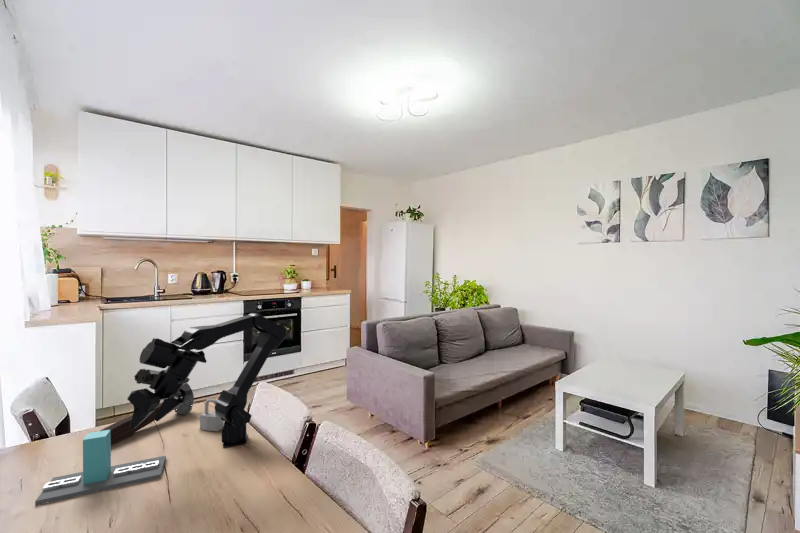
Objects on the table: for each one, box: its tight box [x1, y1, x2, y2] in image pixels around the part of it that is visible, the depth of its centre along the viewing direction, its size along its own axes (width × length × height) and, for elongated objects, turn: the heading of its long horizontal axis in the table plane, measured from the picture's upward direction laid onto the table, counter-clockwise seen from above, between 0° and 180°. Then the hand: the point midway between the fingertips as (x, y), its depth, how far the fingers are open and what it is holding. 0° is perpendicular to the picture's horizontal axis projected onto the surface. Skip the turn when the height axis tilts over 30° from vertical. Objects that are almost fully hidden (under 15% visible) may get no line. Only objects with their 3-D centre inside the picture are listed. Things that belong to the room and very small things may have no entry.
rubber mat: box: [34, 455, 167, 506], centre depth 93 cm, size 24×10×1 cm, turn 116°
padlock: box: [199, 398, 225, 432], centre depth 121 cm, size 7×4×10 cm, turn 75°
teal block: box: [82, 430, 112, 485], centre depth 92 cm, size 4×4×11 cm
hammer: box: [99, 382, 195, 446], centre depth 122 cm, size 5×11×30 cm
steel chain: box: [41, 460, 159, 493], centre depth 92 cm, size 23×2×1 cm, turn 116°
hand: (144, 424), depth 98 cm, fingers open, 9 cm apart
